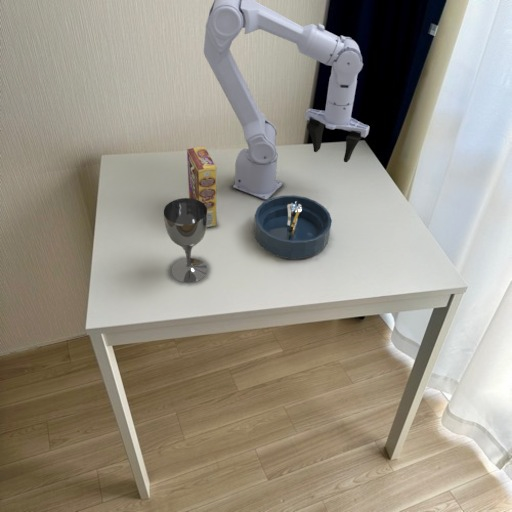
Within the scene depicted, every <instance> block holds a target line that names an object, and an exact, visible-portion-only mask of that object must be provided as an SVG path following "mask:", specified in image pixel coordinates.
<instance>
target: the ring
mask: <svg viewBox="0 0 512 512" xmlns="http://www.w3.org/2000/svg"><path fill="white" fill-rule="evenodd" d="M287 207H288V224H287V236H289V237H292V236H293V235H294V232H295V229H296V226H297V222H298V218H299V213H300V212H301V210H302V205H301V204H298V205H297V201H295V204H293V203H292V204H288V206H287ZM291 213H292V214H294V220H293V223H292V225H291ZM290 227H291V228H290Z"/></svg>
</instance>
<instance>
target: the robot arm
mask: <svg viewBox="0 0 512 512" xmlns="http://www.w3.org/2000/svg"><path fill="white" fill-rule="evenodd" d="M242 29H244V35H249V34H250V33H252V32H255V31H258V30H262V31H264V32H266V33H268V34H271V35H274V36H276V37H278V38H281V39H283V40H286V41H289V42H291V43H293V44H296V46H297V50H298V52H299V53H300V54H302V55H304V56H306V57H308V58H311V59H312V60H314V61H317V62H319V63H322V64H324V65H325V66H331V70H330V73H331V74H330V76H329V81H328V86H327V94H326V103H325V108H324V109H325V110H322V109H321V110H320V109H313V108H309V109H307V110H306V111H305V118H304V119H305V120H306V121H308V123H307V124H306V129H307V131H308V132H309V135H310V138H311V141H312V148H313V152H314V153H318V152H319V151H320V150H321V147H322V139H323V133H324V128H326V129H329V130H335V129H337V130H343V131H346V132H349V134H348V135H347V136H345V151H344V156H343V162H344V163H348V162H349V161H350V160H351V157H352V155H353V153H354V151H355V148H356V146H357V145H358V144H359V142H360V141H361V140H362V138H364V139H365V138H366V137H367V136H368V135H369V132H370V126H369V125H368V124H364V123H363V122H361V121H358V120H357V119H356V118H353V117H352V112H353V107H354V102H355V95H356V89H357V84H358V80H357V79H358V75H359V73H360V72H361V71H362V70H363V66H364V63H363V56H362V54H361V50H360V46H359V44H358V43H357V42H356V41H355V39H352V37H350V36H344V35H340V36H338V35H336V34H334V33H332V32H330V31H328V30H326V29H325V25H323V24H322V23H318V24H317V25H316V24H314V23H310V24H307V25H304V26H302V25H301V24H298V23H296V22H295V21H293V20H291V19H289V18H287V17H285V16H284V15H282V14H280V13H279V12H277V11H275V10H273V9H270V8H269V7H267V6H265V5H263V4H261V3H259V2H258V1H256V0H213V2H212V5H211V7H210V9H209V12H208V16H207V20H206V23H205V33H204V43H203V54H204V57H205V59H206V61H207V63H208V66H210V69H211V70H212V72H213V74H214V76H215V78H216V80H217V81H218V84H219V85H220V88H221V90H222V91H223V93H224V95H225V97H226V98H227V101H228V102H229V104H230V106H231V109H232V110H233V112H234V114H235V116H236V117H237V119H238V121H239V123H240V125H241V127H242V132H243V135H244V139H245V142H246V144H247V146H248V148H242V149H241V150H240V151H239V152H238V154H237V157H236V159H235V164H234V166H235V168H234V169H235V170H234V179H235V180H234V182H235V183H234V184H233V186H232V187H233V188H234V189H235V190H238V191H241V192H244V193H245V194H249V195H251V196H254V197H256V198H260V199H262V200H264V201H267V200H269V199H270V198H271V196H272V195H274V194H275V192H277V191H278V190H279V189H280V188H281V187H282V186H283V182H281V181H278V180H277V170H278V155H279V154H278V151H277V128H276V127H275V125H274V124H273V123H272V122H271V121H269V120H268V119H267V117H266V115H265V113H263V112H261V110H260V108H259V106H258V104H257V102H256V100H255V98H254V96H253V94H252V92H251V90H250V87H249V86H248V84H247V82H246V79H245V78H244V76H243V74H242V72H241V70H240V68H239V66H238V64H237V62H236V60H235V58H234V56H233V54H232V52H231V50H230V49H231V46H232V44H233V41H234V40H235V39H236V38H237V37H238V36H239V34H240V33H241V31H242Z"/></svg>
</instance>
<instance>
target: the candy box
mask: <svg viewBox="0 0 512 512" xmlns="http://www.w3.org/2000/svg"><path fill="white" fill-rule="evenodd" d="M186 155H187V156H186V158H187V174H188V175H187V180H188V182H187V183H188V198H192V199H196V200H199V201H201V202H202V203H204V204H205V206H206V207H207V215H208V218H207V228H211V227H216V226H217V166H216V164H215V163H214V160H213V159H212V157H211V156H210V154H209V152H208V149H207V148H206V147H205V146H197V147H192V148H187V149H186Z"/></svg>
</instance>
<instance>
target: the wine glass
mask: <svg viewBox="0 0 512 512" xmlns="http://www.w3.org/2000/svg"><path fill="white" fill-rule="evenodd" d="M162 212H163V221H164V222H163V223H164V226H165V227H164V228H165V229H166V232H167V236H168V237H169V238H170V240H171V241H172V242H173V243H174V244H176V245H177V246H179V247H181V248H182V249H183V250H184V253H185V257H186V258H183V259H180V260H178V261H176V262H175V263H174V264H173V266H172V268H171V276H172V277H173V278H174V279H175V280H176V281H178V282H181V283H185V284H193V283H196V282H199V281H202V280H203V279H204V278H205V277H206V275H207V274H208V267H207V265H206V263H205V262H204V261H202V260H200V259H198V258H194V257H192V250H193V248H194V247H195V246H196V245H198V244H199V243H200V242H201V241H202V240H203V239H204V237H205V235H206V232H207V228H208V227H207V218H208V215H207V207H206V206H205V204H204V203H202V202H201V201H199V200H196V199H192V198H189V197H181V198H177V199H174V200H172V201H170V202H168V203H167V204H166V205H165V207H164V208H163V211H162Z"/></svg>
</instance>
